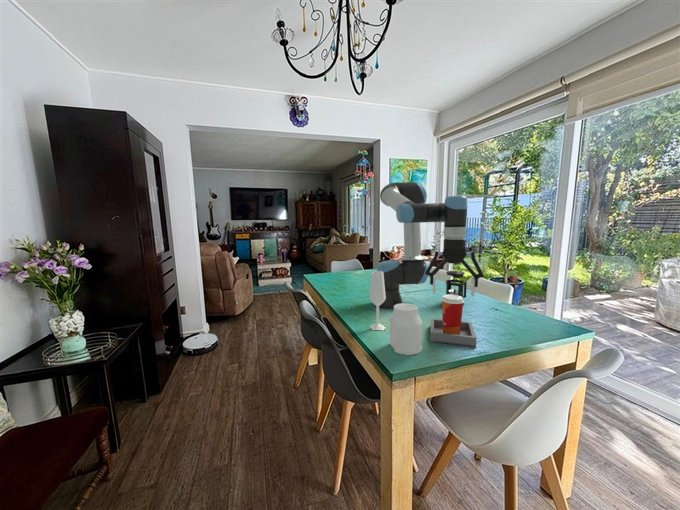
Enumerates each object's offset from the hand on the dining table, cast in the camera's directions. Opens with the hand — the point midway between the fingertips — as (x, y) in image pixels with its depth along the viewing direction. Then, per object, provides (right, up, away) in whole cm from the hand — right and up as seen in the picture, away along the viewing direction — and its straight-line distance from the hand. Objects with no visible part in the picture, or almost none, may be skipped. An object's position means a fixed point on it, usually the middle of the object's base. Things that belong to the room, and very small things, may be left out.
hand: (452, 294), depth 105 cm
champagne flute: (-27, -16, +12) cm, 34 cm away
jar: (-20, -18, -6) cm, 28 cm away
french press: (+19, -11, +42) cm, 47 cm away
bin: (0, -17, +2) cm, 17 cm away
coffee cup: (0, -16, +2) cm, 16 cm away
